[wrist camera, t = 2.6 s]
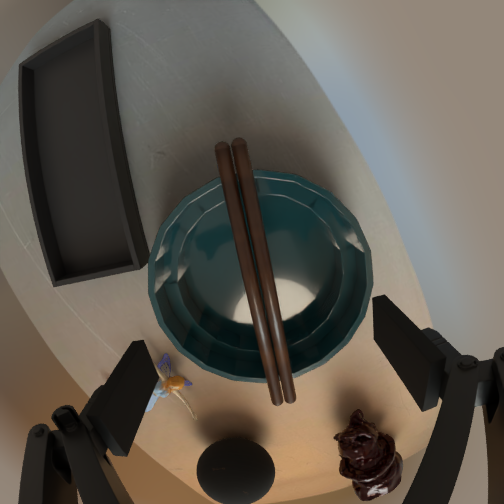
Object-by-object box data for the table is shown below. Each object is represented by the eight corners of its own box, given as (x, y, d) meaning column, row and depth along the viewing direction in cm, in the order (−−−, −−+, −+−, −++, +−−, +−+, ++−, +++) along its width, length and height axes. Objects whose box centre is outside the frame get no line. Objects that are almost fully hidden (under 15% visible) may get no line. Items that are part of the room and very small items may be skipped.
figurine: (364, 447, 41) (327, 387, 37) (417, 456, 33) (393, 393, 29) (335, 493, 35) (286, 442, 31) (389, 508, 27) (355, 463, 23)
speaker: (221, 413, 34) (214, 474, 24) (287, 437, 35) (293, 495, 25) (190, 449, 36) (179, 502, 26) (250, 469, 37) (249, 521, 28)
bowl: (335, 156, 27) (356, 152, 21) (357, 329, 31) (375, 358, 25) (147, 196, 28) (122, 202, 22) (195, 359, 32) (185, 393, 26)
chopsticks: (214, 144, 21) (212, 142, 20) (245, 137, 21) (245, 135, 19) (272, 401, 26) (272, 408, 25) (296, 397, 26) (297, 404, 25)
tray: (110, 29, 23) (98, 18, 20) (151, 260, 29) (140, 269, 26) (33, 69, 23) (18, 64, 20) (67, 278, 30) (53, 287, 27)
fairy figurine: (77, 379, 29) (141, 353, 26) (95, 357, 34) (158, 328, 31) (138, 441, 31) (209, 428, 29) (149, 417, 36) (217, 399, 33)
